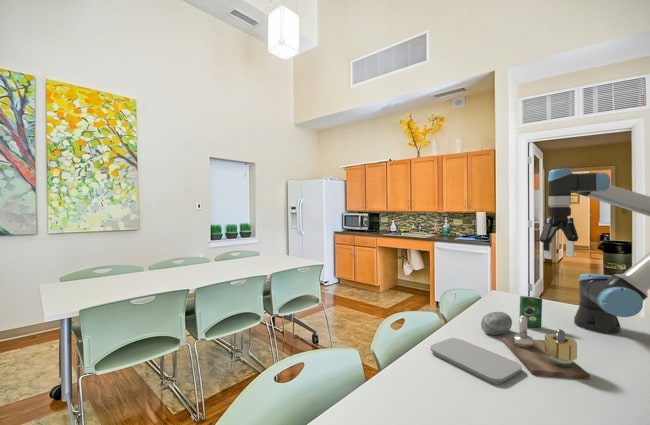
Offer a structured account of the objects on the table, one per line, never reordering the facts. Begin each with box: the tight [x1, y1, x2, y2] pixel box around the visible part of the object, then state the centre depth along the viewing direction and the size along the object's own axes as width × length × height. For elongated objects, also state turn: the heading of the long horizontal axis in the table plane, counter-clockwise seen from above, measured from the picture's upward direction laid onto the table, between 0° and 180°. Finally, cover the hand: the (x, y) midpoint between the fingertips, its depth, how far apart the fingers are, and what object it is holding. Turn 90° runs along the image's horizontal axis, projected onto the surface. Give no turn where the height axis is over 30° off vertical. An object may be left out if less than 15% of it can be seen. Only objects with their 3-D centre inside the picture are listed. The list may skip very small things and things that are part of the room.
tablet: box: [429, 337, 523, 385], centre depth 105 cm, size 16×26×2 cm, turn 31°
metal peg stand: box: [549, 328, 573, 368], centre depth 100 cm, size 6×6×11 cm
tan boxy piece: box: [544, 333, 578, 361], centre depth 100 cm, size 8×8×5 cm
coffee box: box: [518, 295, 543, 329], centre depth 134 cm, size 8×3×13 cm, turn 79°
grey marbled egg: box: [480, 311, 513, 336], centre depth 129 cm, size 14×10×10 cm
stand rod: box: [513, 315, 534, 349], centre depth 113 cm, size 6×6×11 cm
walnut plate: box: [501, 337, 591, 380], centre depth 107 cm, size 16×24×2 cm, turn 170°
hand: (559, 257), depth 126 cm, fingers open, 13 cm apart
